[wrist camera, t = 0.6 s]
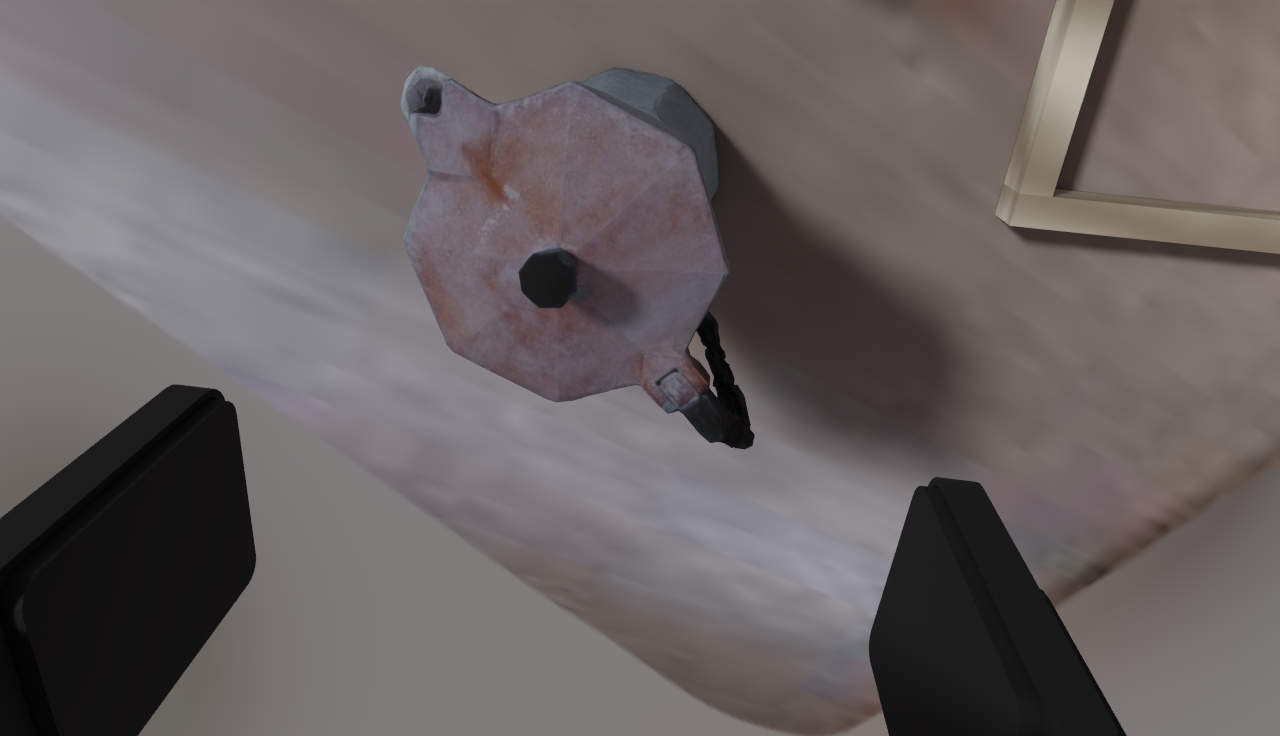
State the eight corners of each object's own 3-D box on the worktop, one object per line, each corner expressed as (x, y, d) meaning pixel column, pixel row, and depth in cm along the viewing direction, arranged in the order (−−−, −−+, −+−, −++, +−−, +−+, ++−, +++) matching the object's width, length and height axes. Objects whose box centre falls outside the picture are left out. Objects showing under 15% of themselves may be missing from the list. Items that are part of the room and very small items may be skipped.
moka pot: (588, -38, 35) (478, -58, 17) (815, 212, 40) (916, 405, 22) (451, 119, 39) (239, 240, 21) (674, 335, 43) (659, 592, 25)
